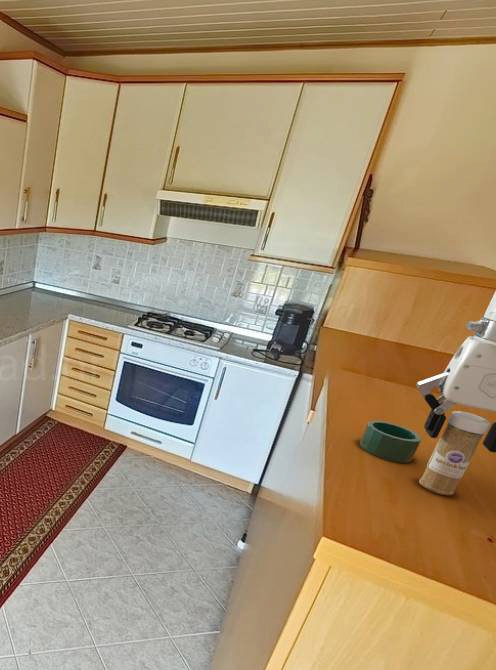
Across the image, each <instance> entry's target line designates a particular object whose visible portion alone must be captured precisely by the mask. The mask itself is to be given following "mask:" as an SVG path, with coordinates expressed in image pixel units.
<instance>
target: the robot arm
mask: <svg viewBox="0 0 496 670" xmlns="http://www.w3.org/2000/svg"><path fill="white" fill-rule="evenodd" d="M465 329H466V330H469V331H471V332H473V334H474V336H472V335H469V336H468V337H467V338H466V339H465V340H464V341H463V342H462V344H461V345H460V346H459V348H458V349H457V351H456V352H455V353H454V355H453V356H452V358H451V359H450V361H449V363H448V364H447V366H446V368H445V370H444V371H443V373H440V374H437V375H434V376H431V377H429V378H426V379H424V380H420V381H418V382H416V384H415V387H416V388H417V390H418V391H419V393H420V394H421V396H422V398H423V399H424V400H425V402H426V404H427V405H428V406H429V408H430V409H431V410H430V411H429V414H428V416H427V418H426V420H425V423H424V424H423V425H424V426H423V428H424V429H425V433H427V435H428V436H429V438H432V439H437V438H438V437H439V434H440V433H441V431H442V428H443V426H444V424H445V423H446V420H447V416H446V415H445V414H446V412H448V411H449V410H450V409H451V408H453V407H454V406H455V405H462V406H464V407H465V406H466V407H470V408H475V409H479V410H485V411H488V412H489V411H490V412H494V413H496V290H495V292H494V293H493V295H492V298H491V299H490V302H489V304H488V306H487V308H486V311H485V312H484V314H483V316H481V317H480V319H479V320H475V321H474V320H469V321H468V322H467V323H466V325H465ZM434 388H437V391H438V392H439V393H441V394H440V396H438V397H437V398H436V397H435V395H434V394H433V392H432V389H434ZM482 445H483V446H484V447H485V448H486V449H487V450H488V451H489V452H490V453H494V454H495V453H496V421H494V422H493V423H492V424H490V426H489V428H488V430H487V432H486V435H485V437H484V439H483V441H482Z"/></svg>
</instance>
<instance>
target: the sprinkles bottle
mask: <svg viewBox="0 0 496 670" xmlns="http://www.w3.org/2000/svg"><path fill="white" fill-rule="evenodd" d="M490 427H491V422H490V421H489V420H488V419H487V418H484V417H482V416H479V415H477V414H474V413H470V412H466V411H461V410H455V411H452V412H451V414H450V415H449V418H448V420H447V426H446V427H445V429H444V431H443V433H442V435H441V436H440V438H439V440H438V442H437V443H436V445H435V448H434V449H433V452H432V454H431V456H430V458H429V460H428V462H427V464H426V468H425V470H424V472H423V475H422V476H421V477H420V478H419V479H418V482H419V484H420V485H421V486H422V487H423V488H425V489H427V490H429V491H431V492H433V493H436V494H439V495H442V496H452V495H454V494H455V490H456V488H457V486H458V485H459V482H460V480H461V479H462V478H463V476H464V473H465V472H466V470H467V468H468V466H469V464H470V463H471V461H472V459H473V457H474V455H475V453H476V451H477V447H478V446H479V444H480V442H481V440H482V438H483V436H484V435H485V434H487V433H488V431H489V429H490Z"/></svg>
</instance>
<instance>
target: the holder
mask: <svg viewBox="0 0 496 670" xmlns="http://www.w3.org/2000/svg"><path fill="white" fill-rule="evenodd" d="M422 440H423V439H422V437H421V435H420V434H418V433H416V432H415V431H414V430H411V429H410V428H407V427H405V426H402V425H400V424H396V423H393V422H389V421H388V422H387V421H383V420H369V421H368V422H367V423H366V426H365V429H364V431H363V433H362V435H361V438H360V440H359V446H360V447H361V448H362V449H363V450H364V451H366V452H367V453H369V454H372V455H374V456H376V457H378V458H381V459H384V460H387V461H391V462H394V463H401V464H406V463H411V462H412V461H413V459H414V457H415V455H416V453H417V450H418V449H419V447H420V444H421V442H422Z"/></svg>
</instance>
